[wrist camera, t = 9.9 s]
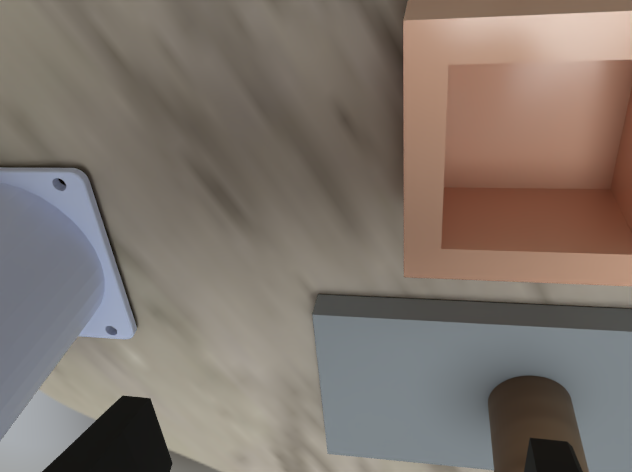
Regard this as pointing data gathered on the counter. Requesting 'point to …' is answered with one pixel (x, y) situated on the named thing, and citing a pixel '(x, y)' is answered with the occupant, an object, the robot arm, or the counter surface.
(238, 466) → the counter surface
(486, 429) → the board
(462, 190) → the square hollow frame
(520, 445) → the peg
